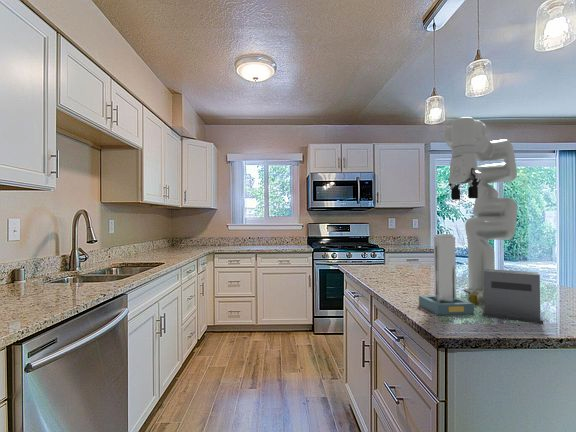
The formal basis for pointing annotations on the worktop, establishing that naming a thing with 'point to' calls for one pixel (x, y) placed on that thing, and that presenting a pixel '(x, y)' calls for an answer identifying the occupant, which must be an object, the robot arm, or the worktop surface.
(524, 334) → the worktop surface
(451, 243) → the white tall cylinder
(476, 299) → the medication box
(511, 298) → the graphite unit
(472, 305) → the socket block
